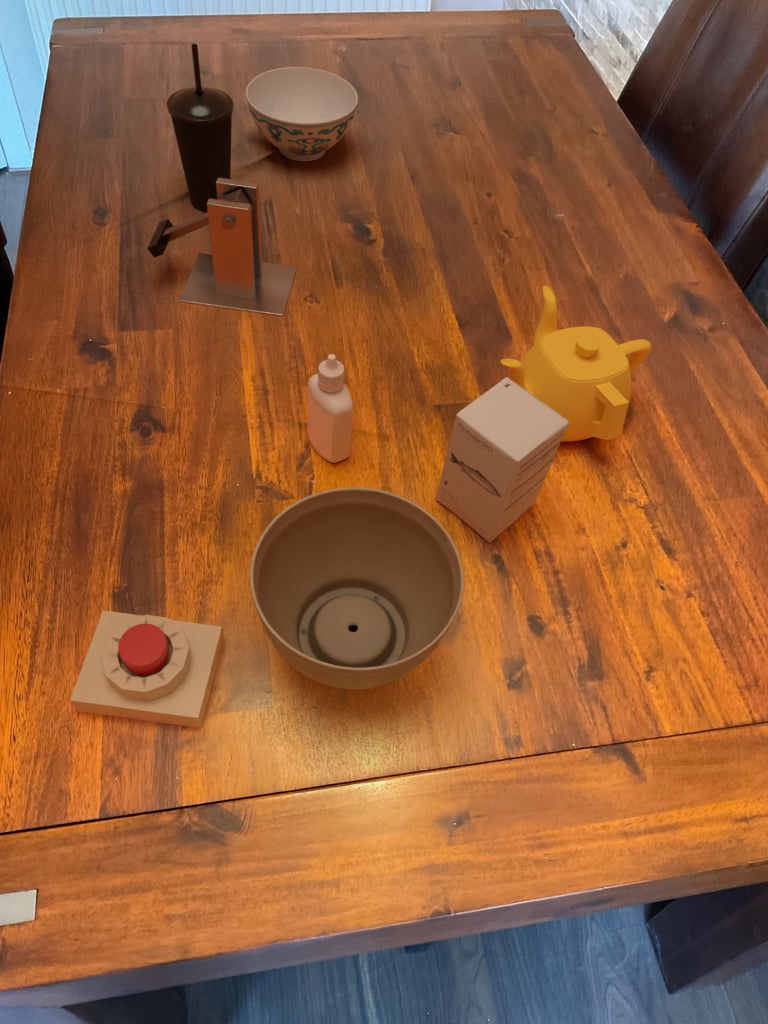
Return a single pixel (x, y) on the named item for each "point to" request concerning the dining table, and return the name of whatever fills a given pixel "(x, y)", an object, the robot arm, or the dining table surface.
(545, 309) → the teapot
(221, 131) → the drinking cup
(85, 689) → the button block
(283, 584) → the planter bowl
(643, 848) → the dining table surface
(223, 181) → the lever stand
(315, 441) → the eye dropper bottle
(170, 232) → the lever
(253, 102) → the chinaware
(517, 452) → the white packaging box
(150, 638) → the button
